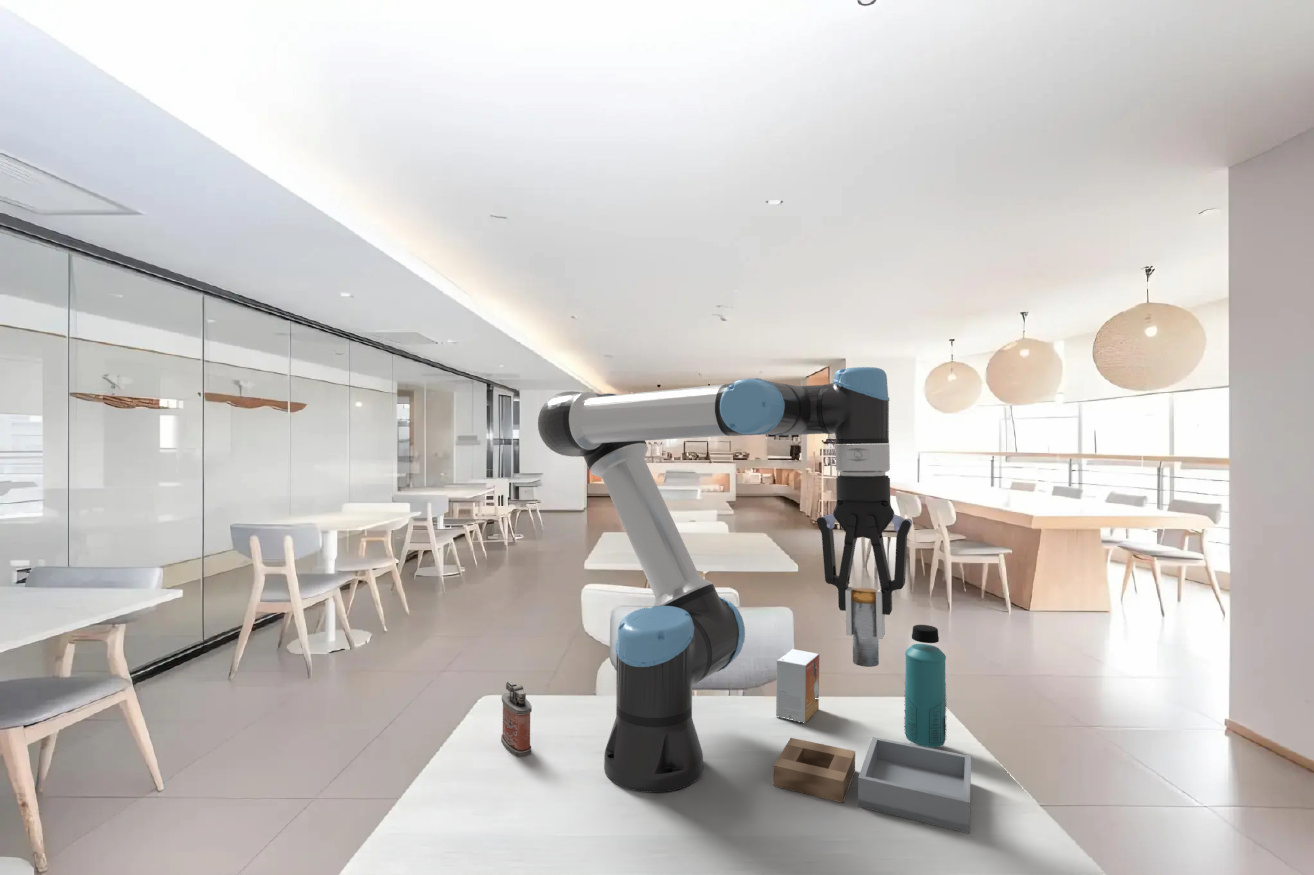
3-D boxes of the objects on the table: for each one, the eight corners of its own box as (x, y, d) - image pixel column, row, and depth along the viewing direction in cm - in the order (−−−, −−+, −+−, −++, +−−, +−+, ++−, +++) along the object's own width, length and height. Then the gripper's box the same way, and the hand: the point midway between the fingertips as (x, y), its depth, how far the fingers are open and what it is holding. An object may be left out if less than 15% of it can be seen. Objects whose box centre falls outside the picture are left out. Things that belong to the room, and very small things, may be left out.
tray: (857, 806, 93) (858, 777, 93) (872, 762, 106) (872, 736, 106) (969, 833, 87) (969, 802, 87) (970, 783, 100) (970, 756, 100)
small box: (805, 725, 119) (805, 665, 119) (775, 717, 122) (775, 659, 122) (819, 709, 126) (820, 653, 126) (791, 702, 129) (791, 648, 129)
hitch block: (773, 785, 98) (773, 765, 98) (790, 756, 107) (790, 737, 107) (843, 802, 94) (843, 781, 94) (855, 770, 103) (855, 751, 103)
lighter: (535, 753, 107) (536, 691, 107) (515, 759, 105) (516, 695, 105) (516, 734, 114) (516, 675, 114) (496, 739, 112) (497, 679, 112)
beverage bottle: (950, 759, 107) (952, 633, 107) (906, 754, 108) (908, 630, 108) (941, 740, 113) (943, 622, 113) (900, 736, 115) (901, 619, 114)
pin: (850, 664, 97) (849, 591, 97) (855, 657, 100) (854, 587, 100) (876, 668, 95) (875, 594, 96) (880, 660, 99) (879, 589, 99)
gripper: (799, 474, 99) (802, 634, 98) (921, 475, 91) (924, 648, 91) (812, 472, 105) (814, 622, 105) (926, 473, 98) (929, 634, 98)
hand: (865, 634), depth 98 cm, fingers closed on pin, 4 cm apart
